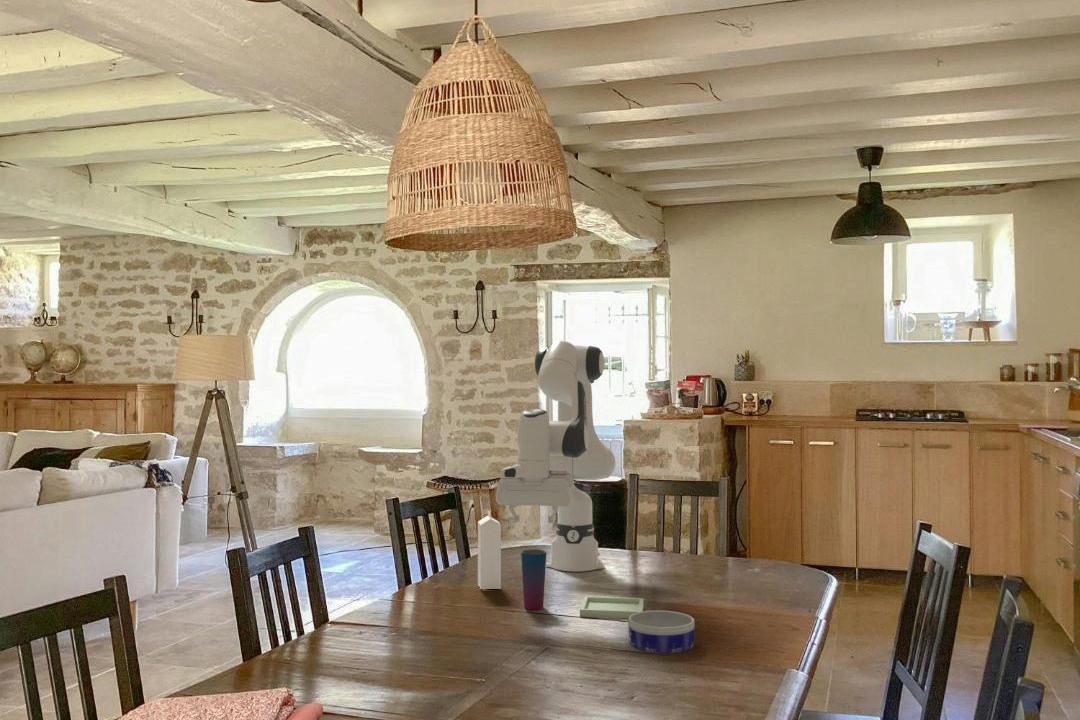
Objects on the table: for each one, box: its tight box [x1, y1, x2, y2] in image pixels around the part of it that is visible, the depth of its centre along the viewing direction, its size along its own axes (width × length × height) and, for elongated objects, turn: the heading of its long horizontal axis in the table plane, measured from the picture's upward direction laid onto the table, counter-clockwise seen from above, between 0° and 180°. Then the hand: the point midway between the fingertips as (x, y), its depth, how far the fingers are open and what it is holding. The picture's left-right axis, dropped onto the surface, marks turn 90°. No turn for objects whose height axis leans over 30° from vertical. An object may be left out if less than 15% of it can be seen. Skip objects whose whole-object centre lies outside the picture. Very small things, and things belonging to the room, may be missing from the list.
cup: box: [520, 548, 547, 611], centre depth 246 cm, size 7×7×15 cm
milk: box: [477, 510, 502, 590], centre depth 268 cm, size 6×6×22 cm
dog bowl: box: [627, 609, 696, 654], centre depth 215 cm, size 15×15×6 cm
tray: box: [579, 595, 645, 619], centre depth 243 cm, size 14×16×2 cm
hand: (533, 522), depth 246 cm, fingers open, 8 cm apart
